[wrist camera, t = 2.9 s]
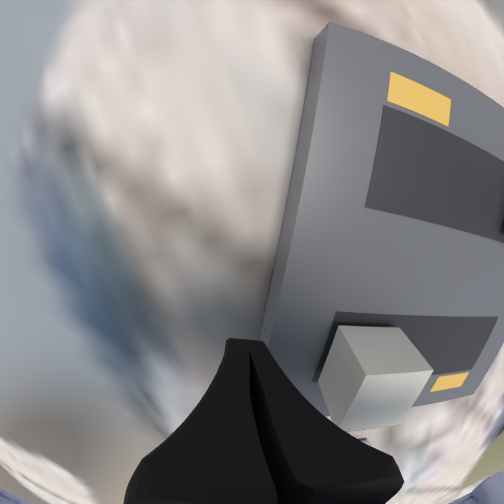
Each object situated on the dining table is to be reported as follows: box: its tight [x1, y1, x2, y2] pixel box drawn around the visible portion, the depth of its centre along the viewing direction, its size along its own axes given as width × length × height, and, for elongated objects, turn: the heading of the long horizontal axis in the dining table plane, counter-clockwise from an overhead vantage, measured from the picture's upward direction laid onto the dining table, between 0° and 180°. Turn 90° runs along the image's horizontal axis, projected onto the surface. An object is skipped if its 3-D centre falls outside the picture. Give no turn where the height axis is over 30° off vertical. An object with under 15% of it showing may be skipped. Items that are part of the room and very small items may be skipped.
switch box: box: [259, 22, 504, 416], centre depth 13 cm, size 17×16×2 cm
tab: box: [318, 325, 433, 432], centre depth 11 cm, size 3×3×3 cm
